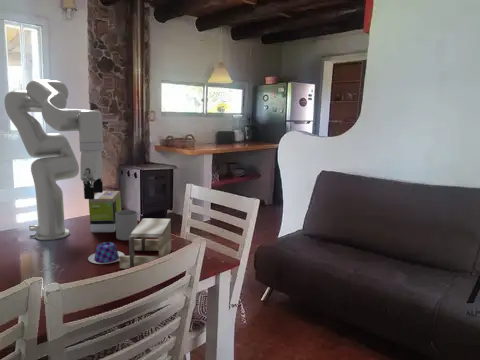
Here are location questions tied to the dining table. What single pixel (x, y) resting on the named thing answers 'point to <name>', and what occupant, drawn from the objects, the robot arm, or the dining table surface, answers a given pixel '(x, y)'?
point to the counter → (148, 241)
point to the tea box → (104, 211)
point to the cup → (125, 223)
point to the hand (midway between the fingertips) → (94, 195)
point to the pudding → (105, 253)
